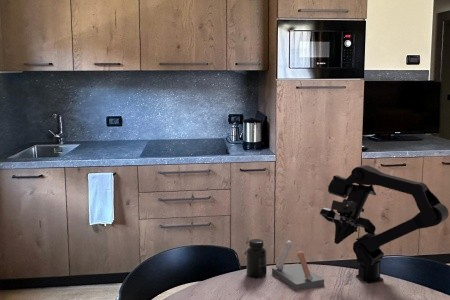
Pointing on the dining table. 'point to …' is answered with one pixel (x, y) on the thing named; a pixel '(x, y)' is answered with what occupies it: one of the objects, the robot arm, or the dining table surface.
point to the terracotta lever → (304, 266)
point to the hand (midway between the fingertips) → (335, 243)
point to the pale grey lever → (284, 255)
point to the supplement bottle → (256, 259)
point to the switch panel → (297, 277)
